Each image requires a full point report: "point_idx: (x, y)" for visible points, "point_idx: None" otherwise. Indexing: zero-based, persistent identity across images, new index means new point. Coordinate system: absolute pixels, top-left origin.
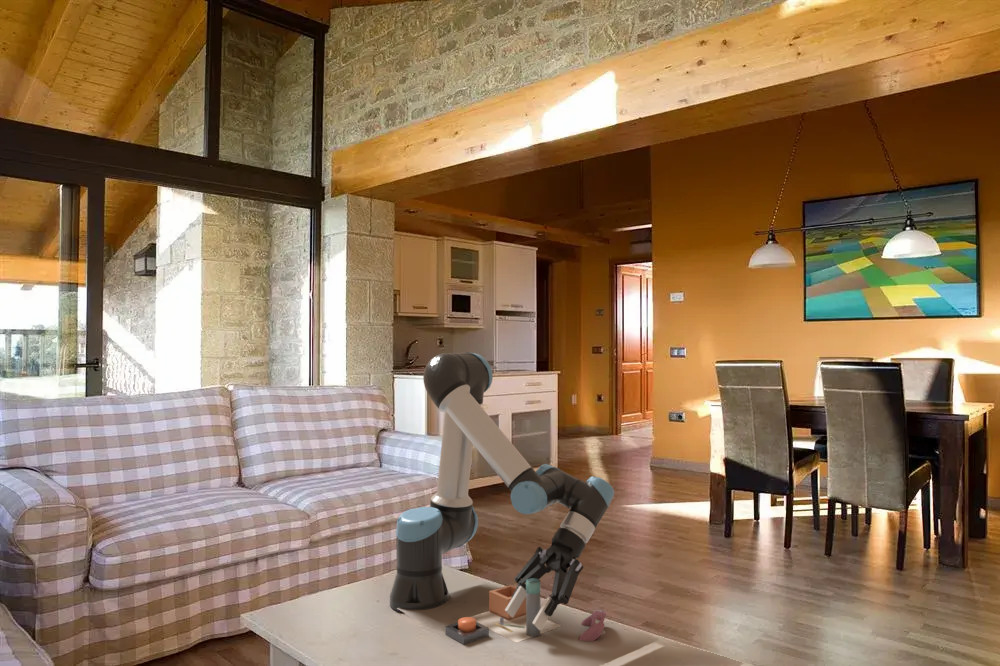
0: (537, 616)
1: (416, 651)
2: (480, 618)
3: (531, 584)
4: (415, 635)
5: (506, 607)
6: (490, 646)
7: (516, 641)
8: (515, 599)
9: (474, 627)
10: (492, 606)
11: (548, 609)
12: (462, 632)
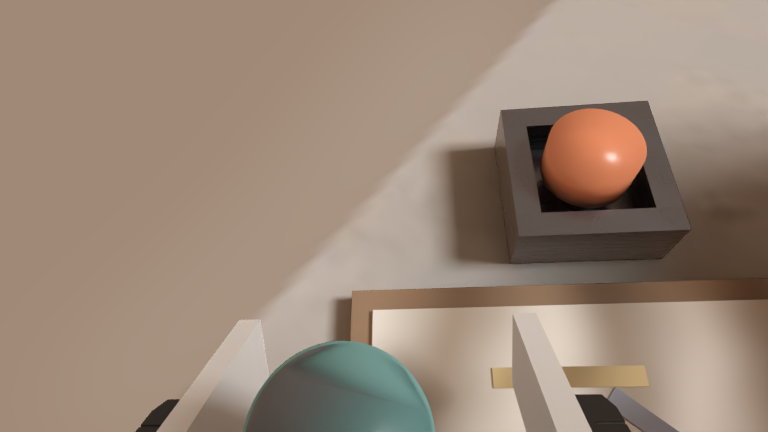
0: (230, 347)
1: (580, 34)
2: (761, 352)
3: (294, 361)
4: (726, 76)
5: (538, 322)
6: (462, 241)
7: (381, 320)
8: (533, 384)
9: (549, 174)
10: None
11: (156, 419)
12: (542, 124)
